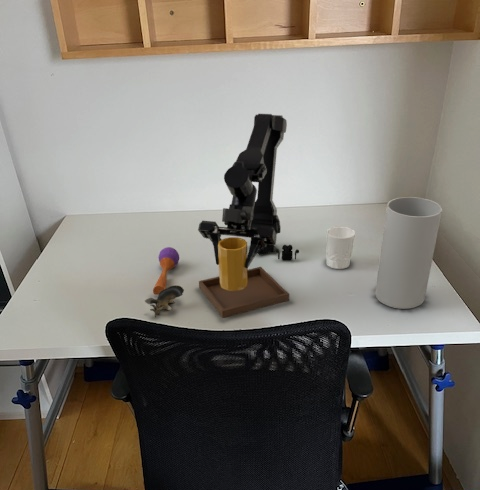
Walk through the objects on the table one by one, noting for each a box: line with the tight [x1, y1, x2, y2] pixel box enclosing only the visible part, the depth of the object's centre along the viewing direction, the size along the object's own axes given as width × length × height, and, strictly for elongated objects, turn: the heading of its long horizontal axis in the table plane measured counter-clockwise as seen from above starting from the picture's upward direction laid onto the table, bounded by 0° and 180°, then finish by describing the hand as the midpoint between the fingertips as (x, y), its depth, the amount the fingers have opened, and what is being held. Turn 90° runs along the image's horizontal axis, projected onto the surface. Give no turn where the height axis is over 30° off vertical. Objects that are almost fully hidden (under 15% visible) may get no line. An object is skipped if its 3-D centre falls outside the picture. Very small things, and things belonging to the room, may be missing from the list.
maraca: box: [152, 246, 180, 295], centre depth 150 cm, size 6×6×20 cm
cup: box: [218, 236, 249, 291], centre depth 131 cm, size 7×7×11 cm
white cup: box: [325, 226, 356, 270], centre depth 154 cm, size 8×8×10 cm
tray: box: [198, 266, 290, 319], centre depth 141 cm, size 17×19×3 cm
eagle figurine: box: [144, 285, 185, 318], centre depth 136 cm, size 8×7×9 cm
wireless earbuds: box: [274, 244, 300, 262], centre depth 158 cm, size 7×2×5 cm, turn 86°
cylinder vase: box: [374, 196, 443, 310], centre depth 133 cm, size 12×12×25 cm
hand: (231, 266), depth 130 cm, fingers closed on cup, 7 cm apart
